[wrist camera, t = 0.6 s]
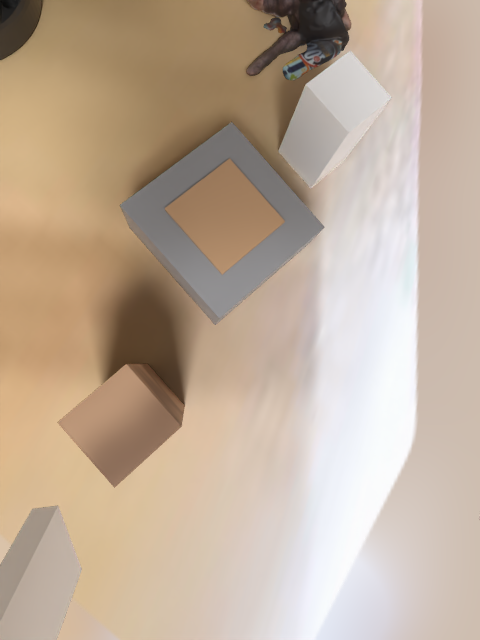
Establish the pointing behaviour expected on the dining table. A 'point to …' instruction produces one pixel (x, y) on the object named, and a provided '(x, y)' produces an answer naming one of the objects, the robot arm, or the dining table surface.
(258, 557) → the dining table surface
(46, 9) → the dining table surface
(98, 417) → the walnut block
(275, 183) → the base block
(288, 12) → the stuffed animal
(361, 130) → the white block
